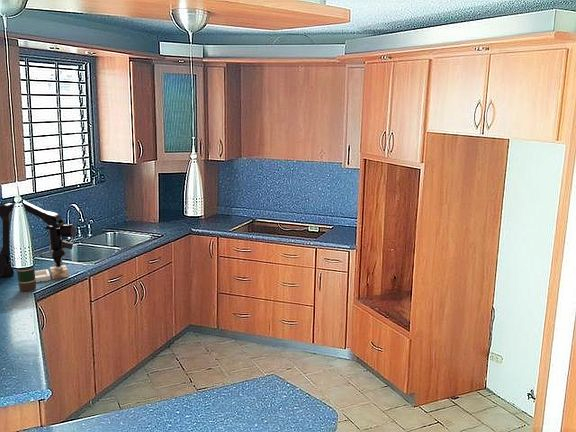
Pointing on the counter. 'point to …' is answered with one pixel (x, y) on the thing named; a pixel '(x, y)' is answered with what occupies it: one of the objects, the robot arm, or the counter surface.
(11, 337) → the counter surface
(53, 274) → the hitch block
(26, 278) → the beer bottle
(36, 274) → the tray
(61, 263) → the steel pin
